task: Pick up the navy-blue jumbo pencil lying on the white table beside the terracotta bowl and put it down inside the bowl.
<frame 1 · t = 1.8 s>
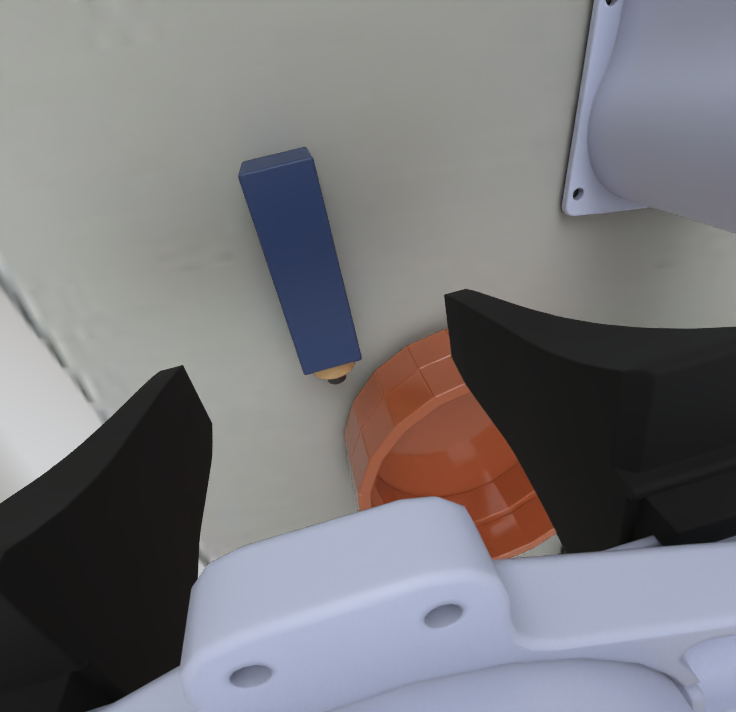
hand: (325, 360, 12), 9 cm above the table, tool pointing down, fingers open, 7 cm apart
pencil: (302, 255, 20), on the table
bowl: (455, 421, 27), on the table
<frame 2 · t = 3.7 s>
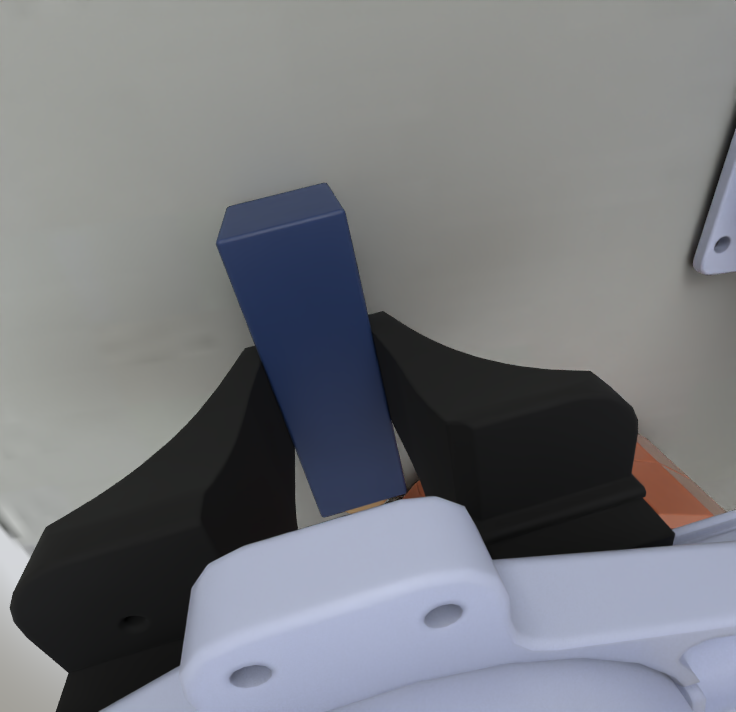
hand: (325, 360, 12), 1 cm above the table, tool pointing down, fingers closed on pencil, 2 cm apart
pencil: (318, 336, 14), on the table, touching gripper
bowl: (515, 529, 20), on the table
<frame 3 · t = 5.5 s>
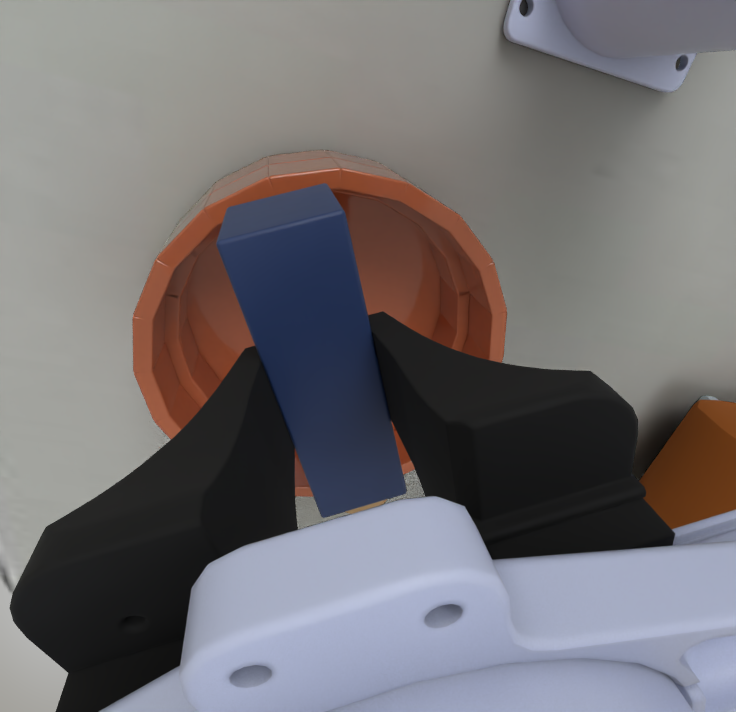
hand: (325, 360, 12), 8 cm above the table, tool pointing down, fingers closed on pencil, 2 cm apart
pencil: (318, 337, 14), point 7 cm above the table, touching gripper
bowl: (319, 308, 21), on the table
when the fingers open (2 cm above the table, at t = 7.5 s): pencil stays where it is, resting on bowl.
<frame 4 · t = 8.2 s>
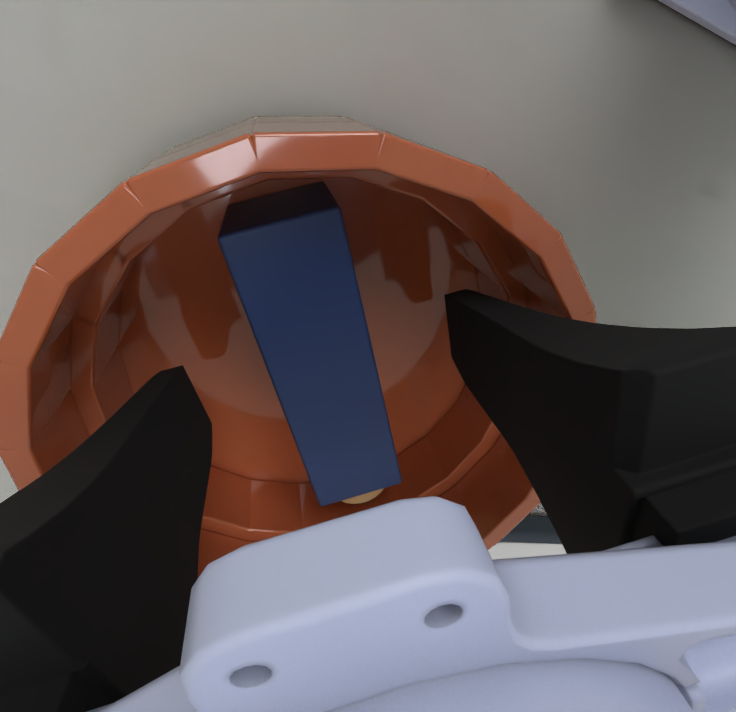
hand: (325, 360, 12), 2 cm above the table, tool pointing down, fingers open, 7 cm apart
pencil: (316, 331, 14), point 1 cm above the table, touching bowl
bowl: (313, 344, 15), on the table
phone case: (481, 612, 25), on the table
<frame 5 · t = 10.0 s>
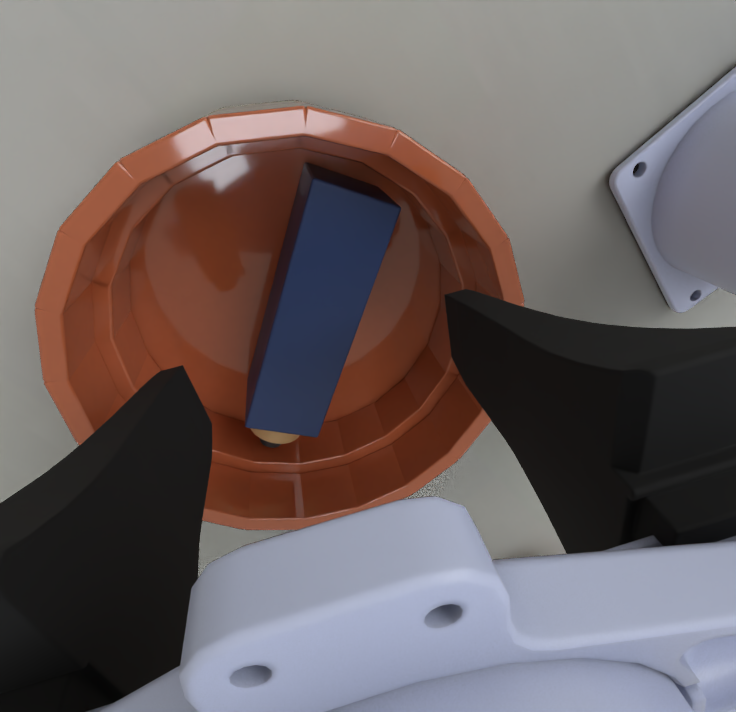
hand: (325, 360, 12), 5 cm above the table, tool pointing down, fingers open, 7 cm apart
pencil: (308, 291, 17), point 1 cm above the table, touching bowl
bowl: (295, 301, 17), on the table
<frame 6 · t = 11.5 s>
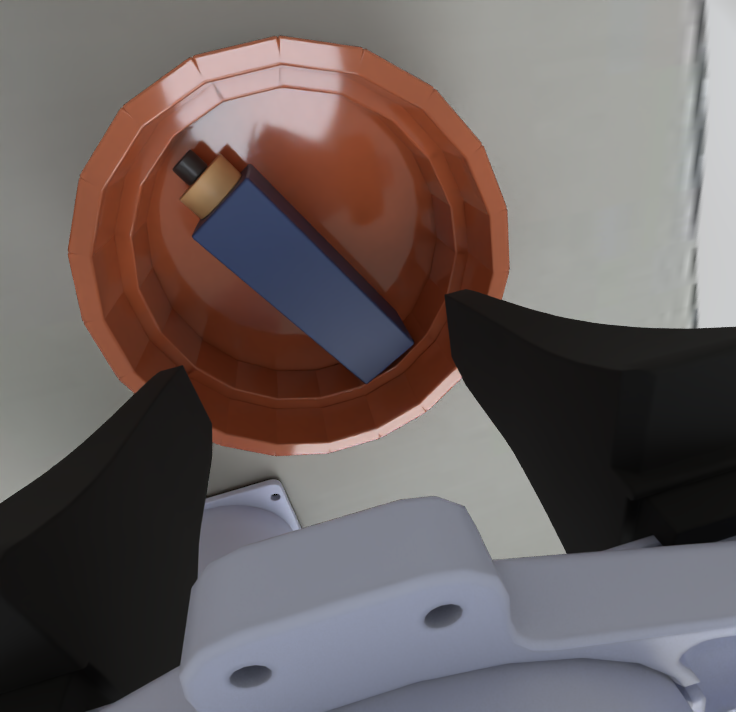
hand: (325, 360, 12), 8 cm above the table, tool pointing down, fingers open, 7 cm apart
pencil: (308, 267, 19), point 1 cm above the table, touching bowl
bowl: (299, 247, 19), on the table
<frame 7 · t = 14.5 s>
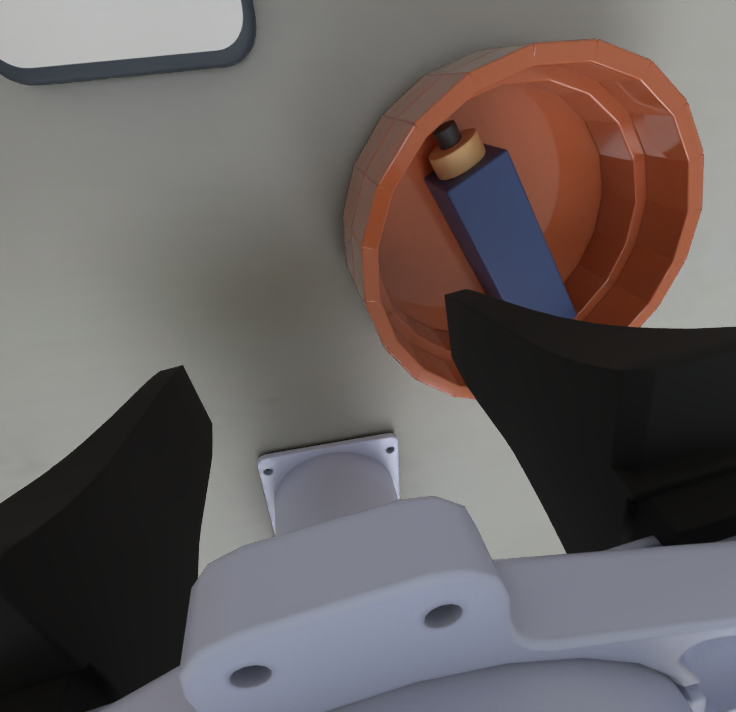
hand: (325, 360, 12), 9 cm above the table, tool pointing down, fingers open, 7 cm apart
pencil: (489, 240, 21), point 1 cm above the table, touching bowl
bowl: (483, 221, 21), on the table
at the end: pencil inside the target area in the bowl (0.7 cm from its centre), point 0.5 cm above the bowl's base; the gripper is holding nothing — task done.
